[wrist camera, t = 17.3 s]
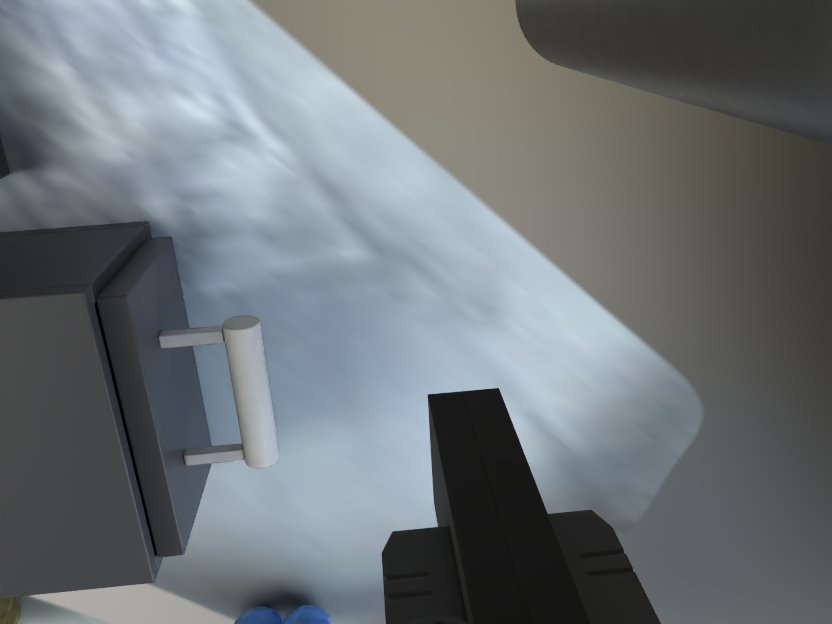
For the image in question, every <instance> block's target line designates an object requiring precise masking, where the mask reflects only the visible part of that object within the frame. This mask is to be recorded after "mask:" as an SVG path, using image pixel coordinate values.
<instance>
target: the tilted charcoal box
mask: <svg viewBox="0 0 832 624" xmlns="http://www.w3.org/2000/svg"><path fill="white" fill-rule="evenodd" d="M150 238H152V237H151V232H150V227H149V223H148V222H134V223H121V224H108V225H95V226H82V227H69V228H56V229H43V230H29V231H16V232H3V233H0V598H8V597H18V596H27V595H37V594H47V593H57V592H66V591H76V590H86V589H95V588H106V587H115V586H125V585H135V584H145V583H153V582H155V579H156V576H157V573H158V570H159V568H160V565H161V562H162V559H163V557H157V553H156V548H155V544H154V540H153V536H152V532H151V528H150V523H149V519H148V515H147V511H146V507H145V502H144V499H143V502H142V501H141V497H140V492H139V488H138V484H137V480H136V476H135V472H134V468H133V463H132V459H131V455H130V451H129V447H128V443H127V438H126V434H125V430H124V426H123V422H122V418H121V414H120V409H119V405H118V401H117V397H116V393H115V389H114V385H113V380H112V376H111V372H110V368H109V364H108V360H107V355H106V351H105V347H104V343H103V339H102V335H101V331H100V326H99V322H98V318H97V314H96V310H95V306H94V303H95V302H96V297H97V296H98V295H99V294H100V293H101V291H102V290H103V289H104V288H105V287H106V286H107V284H108V283H109V282H110V281H111V280H112V279H113V278H114V276H115V275H116V274H117V273H118V272H119V271H120V269H121V268H122V267H123V266H124V265H125V264H126V262H127V261H128V260H129V259H130V258H131V257H132V256H133V254H134V253H135V252H136V251H137V250H138V249H139V247H140V246H141V245H142V244H143V243H144V242H145V240H146V239H150Z"/></svg>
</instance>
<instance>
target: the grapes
mask: <svg viewBox="0 0 832 624" xmlns="http://www.w3.org/2000/svg"><path fill="white" fill-rule="evenodd" d="M234 624H330V616H329V615H328V614H327V613H326V612H325V610H324V609H323V608H320V607H317V606H314V605H303V606H301V607H299V608H297V609H295V610H294V611H292V612H291V613H290V614H289V615H288V616H287V617H286V618H285V619H284V620H283V623H282V618H281V617H280V616H279V614H278V613H277V612H276V611H275V610H273V609H270V608H268V607H264V606H262V607H254V608H252V609H250V610H248V611H246V612H244V613H243V614H242V615H241V616H240V617H239V618H238V619H237V620H236V621H235V623H234Z"/></svg>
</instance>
